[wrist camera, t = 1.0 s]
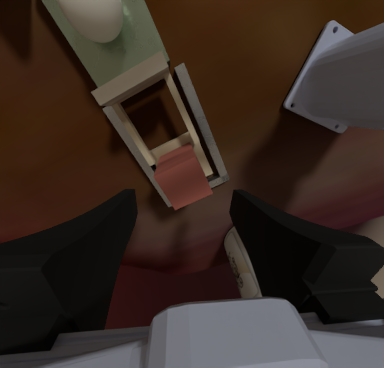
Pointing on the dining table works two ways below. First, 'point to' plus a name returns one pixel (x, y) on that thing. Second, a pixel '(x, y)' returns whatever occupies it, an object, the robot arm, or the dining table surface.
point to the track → (128, 58)
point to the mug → (241, 265)
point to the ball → (94, 18)
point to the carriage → (169, 152)
